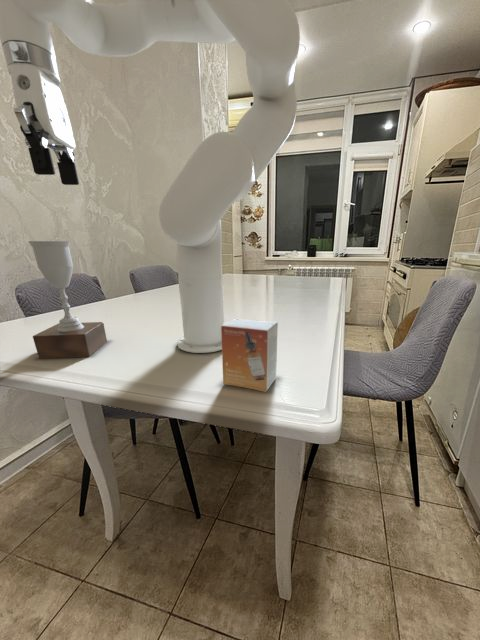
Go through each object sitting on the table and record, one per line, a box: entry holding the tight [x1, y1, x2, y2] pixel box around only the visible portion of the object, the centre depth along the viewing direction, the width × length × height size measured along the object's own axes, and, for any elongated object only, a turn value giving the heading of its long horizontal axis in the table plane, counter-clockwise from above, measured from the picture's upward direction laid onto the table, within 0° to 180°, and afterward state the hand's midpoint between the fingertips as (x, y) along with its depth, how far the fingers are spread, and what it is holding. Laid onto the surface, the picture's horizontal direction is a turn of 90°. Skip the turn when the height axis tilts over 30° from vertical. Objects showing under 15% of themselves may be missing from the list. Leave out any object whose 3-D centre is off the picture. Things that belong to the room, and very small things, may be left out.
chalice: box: [27, 240, 84, 332], centre depth 61 cm, size 7×7×18 cm
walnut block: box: [32, 321, 108, 360], centre depth 65 cm, size 10×10×5 cm
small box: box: [221, 317, 279, 393], centre depth 49 cm, size 8×6×10 cm
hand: (59, 179), depth 57 cm, fingers open, 9 cm apart
